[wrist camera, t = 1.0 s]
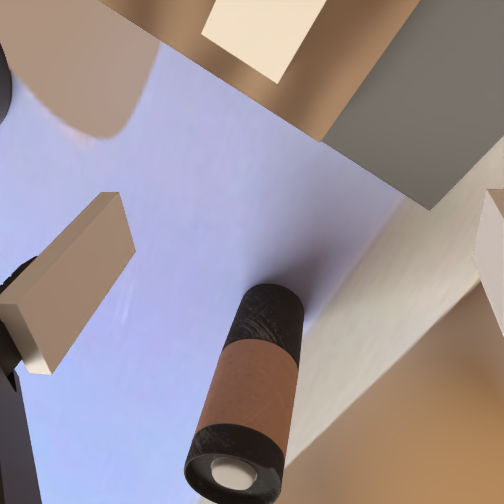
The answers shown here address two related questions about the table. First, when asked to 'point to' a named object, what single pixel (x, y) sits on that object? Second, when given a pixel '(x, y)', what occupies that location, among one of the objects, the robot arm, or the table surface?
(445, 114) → the mat
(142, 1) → the wooden block
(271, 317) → the travel mug
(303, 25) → the tile
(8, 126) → the table surface
